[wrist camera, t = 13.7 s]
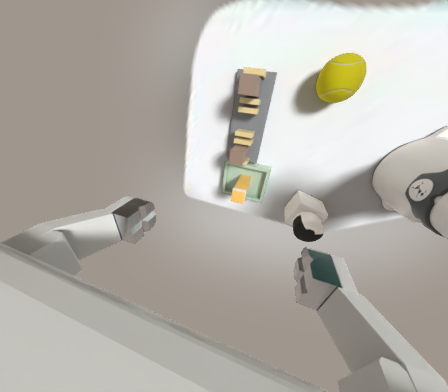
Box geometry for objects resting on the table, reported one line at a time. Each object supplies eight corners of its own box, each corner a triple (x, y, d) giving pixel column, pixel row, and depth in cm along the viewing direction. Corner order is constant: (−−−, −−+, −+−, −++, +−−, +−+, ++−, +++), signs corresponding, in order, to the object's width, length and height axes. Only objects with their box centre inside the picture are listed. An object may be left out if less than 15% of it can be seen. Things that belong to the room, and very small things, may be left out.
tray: (271, 166, 42) (270, 170, 40) (262, 198, 47) (261, 202, 45) (228, 157, 45) (225, 160, 42) (224, 188, 50) (221, 192, 48)
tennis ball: (318, 60, 30) (328, 49, 24) (362, 57, 28) (384, 45, 22) (309, 103, 34) (315, 103, 28) (347, 102, 32) (362, 102, 26)
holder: (239, 70, 34) (227, 60, 27) (276, 73, 33) (275, 64, 25) (228, 156, 44) (217, 166, 37) (256, 161, 43) (251, 174, 35)
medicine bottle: (306, 219, 47) (313, 250, 37) (283, 208, 47) (284, 236, 37) (322, 201, 43) (335, 230, 33) (298, 189, 43) (303, 215, 33)
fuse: (252, 176, 44) (245, 193, 36) (249, 186, 46) (243, 204, 38) (241, 174, 45) (232, 189, 37) (239, 183, 46) (230, 201, 38)
